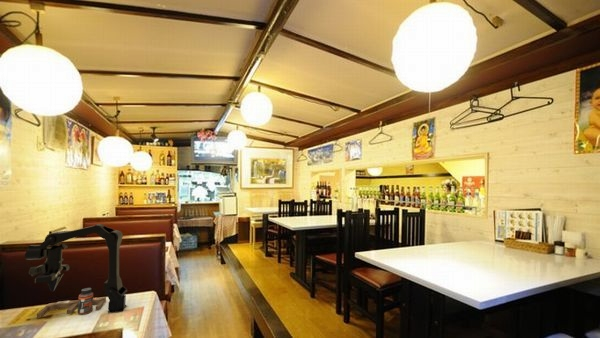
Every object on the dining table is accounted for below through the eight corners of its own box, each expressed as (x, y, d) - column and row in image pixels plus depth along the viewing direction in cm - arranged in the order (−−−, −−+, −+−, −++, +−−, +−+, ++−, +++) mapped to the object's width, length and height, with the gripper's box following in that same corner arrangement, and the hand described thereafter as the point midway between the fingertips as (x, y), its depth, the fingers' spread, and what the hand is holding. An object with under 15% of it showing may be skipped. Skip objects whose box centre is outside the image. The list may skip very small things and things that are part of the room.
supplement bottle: (83, 315, 132) (85, 292, 133) (74, 314, 134) (75, 290, 134) (95, 310, 138) (96, 287, 139) (86, 309, 139) (87, 286, 140)
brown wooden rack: (105, 301, 148) (106, 296, 148) (99, 310, 138) (99, 304, 138) (48, 308, 140) (48, 302, 140) (36, 318, 130) (36, 311, 130)
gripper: (43, 254, 139) (42, 286, 138) (20, 265, 121) (18, 301, 121) (70, 253, 143) (68, 283, 142) (52, 263, 125) (50, 297, 124)
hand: (52, 290), depth 132 cm, fingers closed
